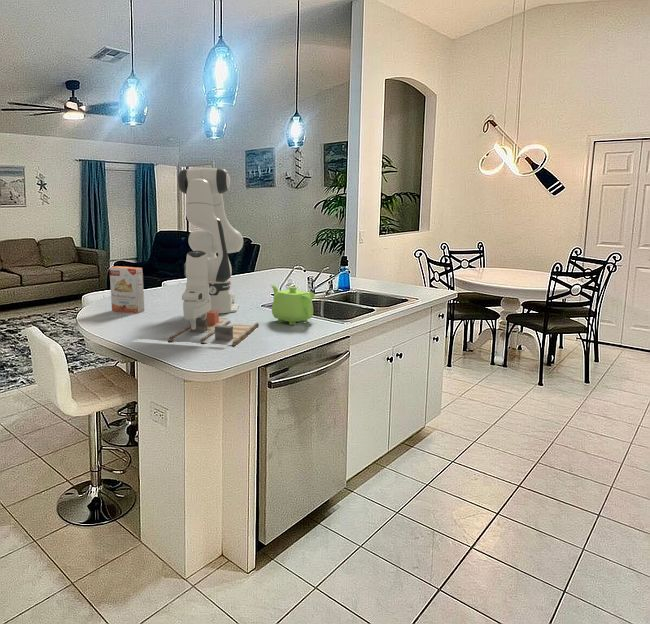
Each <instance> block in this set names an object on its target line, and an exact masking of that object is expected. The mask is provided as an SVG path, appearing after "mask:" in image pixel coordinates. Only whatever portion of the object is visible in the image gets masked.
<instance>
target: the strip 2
mask: <svg viewBox="0 0 650 624" xmlns="http://www.w3.org/2000/svg"><path fill="white" fill-rule="evenodd" d="M251 326H252V324H251V325H248V324H246V325H245V324H232V325H226V326H224V325H223V324H219V325H217V326H216V327H214V330H215V334H214V338H213V339H212V341H218V342H219V341H220V342H222V341H223V342H233V341H234V340H235V339H236V338H238V337H239V336H240V335H241V334H243V333H244V332H245V331H246V330H248V329H249V328H250V327H251Z"/></svg>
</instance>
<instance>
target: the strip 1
mask: <svg viewBox="0 0 650 624" xmlns="http://www.w3.org/2000/svg"><path fill="white" fill-rule="evenodd" d="M226 321H228V318H226V317H224V318H223V317H219V322H218V323H217V324H215V325H211V324H207V318H201V317H198V318H196V321H195V322H196V325H197V329H195V330H192V329H191V324H190V323H189V325H190V329H188V330H187V332H190V333H204V334H205V333H207V334H208V333H209V332H210V331H212V330H213V329H215V327H216V326H217V325H222V323H223V322H226Z"/></svg>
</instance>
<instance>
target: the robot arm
mask: <svg viewBox="0 0 650 624" xmlns="http://www.w3.org/2000/svg"><path fill="white" fill-rule="evenodd" d="M230 185H231V178H230V174H229V172H228V170H227V169H225V168H220V167H218V168H214V167H201V168H199V167H198V168H191V169H189V168H185V169H181V170H180V171H179V172H178V175H177V186H178V189H179V191H180V193H182V194H184V195H185V216H186V219H187V221H188V222H189V224H191V225H192V226H193V227H196V228H197V229H195V230H192V231H191V232H190V233H189V236H188V245H189V247H190V249H191V250H192V251H188V252H187V253H186V260H185V263H183V272H184V273H183V274H184V277H185V278H186V283H185V290H184V292H183V293H182V295H181V300H182V301H183V303H182V312H183V318H184V320H185V321H189V325H190V324H191V329H192V330H195V329H197V325H196V322H195V321H196V318H206V316H207V312H209V311H210V310H214V311H219V314H227V313H228V314H229V313H235V312H237V311H238V309H239V307H240V304H239V303H235V294H234V293H233V291H232V290H231V286H232V285H231V283H232V282H231V280H229V279H231V277H232V273H233V271H232V270H233V269H232V264H231V261H230V259H229V254H232V253H237V252H238V253H239V252H240V251H241V250H242V248H243V246H244V237H243V236H242V233H241V232H240V231H239V230H237V229H235V227H233V226H232V225H231V224H230V222H229V220H228V218H227V216H226V211H225V203H224V198H223V197H224V195H223V194H225V193H226V192H228V191H229V189H230Z"/></svg>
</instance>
